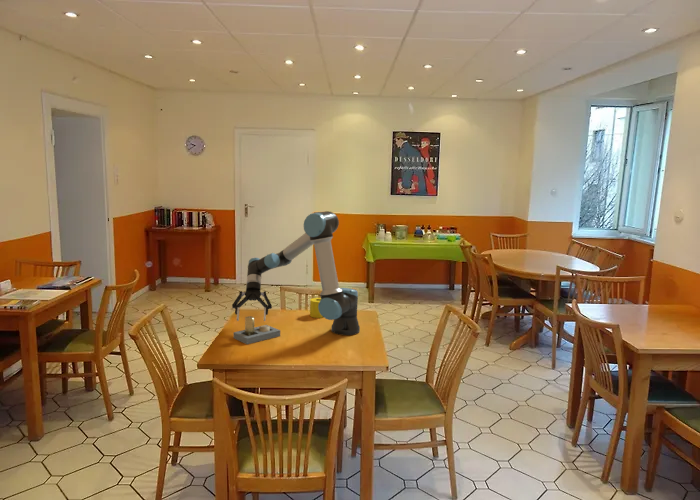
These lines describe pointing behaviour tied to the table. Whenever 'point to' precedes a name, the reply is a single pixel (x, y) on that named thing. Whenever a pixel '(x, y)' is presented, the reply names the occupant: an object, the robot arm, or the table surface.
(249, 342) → the jig plate
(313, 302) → the tape roll
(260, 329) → the wooden plug
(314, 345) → the table surface
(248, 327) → the brass cylinder
